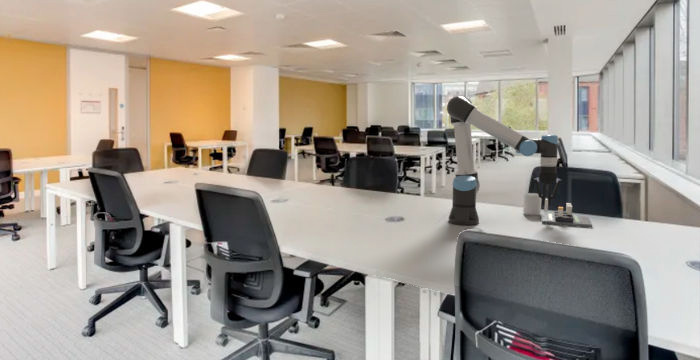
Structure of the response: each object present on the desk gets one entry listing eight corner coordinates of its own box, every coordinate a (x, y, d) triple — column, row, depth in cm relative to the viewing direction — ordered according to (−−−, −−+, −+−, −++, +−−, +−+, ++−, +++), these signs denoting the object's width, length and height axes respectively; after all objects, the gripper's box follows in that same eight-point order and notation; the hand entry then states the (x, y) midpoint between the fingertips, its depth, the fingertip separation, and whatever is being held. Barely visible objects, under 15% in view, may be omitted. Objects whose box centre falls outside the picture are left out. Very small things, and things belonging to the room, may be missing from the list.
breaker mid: (566, 214, 212) (567, 206, 212) (566, 213, 215) (567, 205, 214) (571, 214, 211) (572, 206, 211) (571, 213, 214) (571, 205, 213)
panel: (542, 223, 210) (542, 216, 209) (541, 216, 226) (542, 209, 225) (592, 227, 201) (592, 220, 200) (588, 219, 217) (588, 213, 216)
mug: (540, 216, 225) (541, 196, 224) (522, 214, 229) (523, 195, 228) (541, 212, 236) (542, 192, 234) (524, 210, 240) (525, 191, 238)
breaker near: (558, 216, 208) (558, 207, 208) (557, 215, 211) (558, 206, 210) (562, 216, 208) (563, 208, 207) (562, 215, 210) (563, 207, 210)
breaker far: (566, 212, 218) (566, 204, 217) (565, 211, 220) (566, 203, 220) (570, 212, 217) (571, 204, 216) (570, 211, 219) (570, 203, 219)
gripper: (534, 166, 208) (531, 212, 211) (563, 166, 202) (560, 214, 206) (534, 164, 215) (532, 209, 218) (562, 165, 209) (559, 211, 213)
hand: (545, 211), depth 212 cm, fingers closed
